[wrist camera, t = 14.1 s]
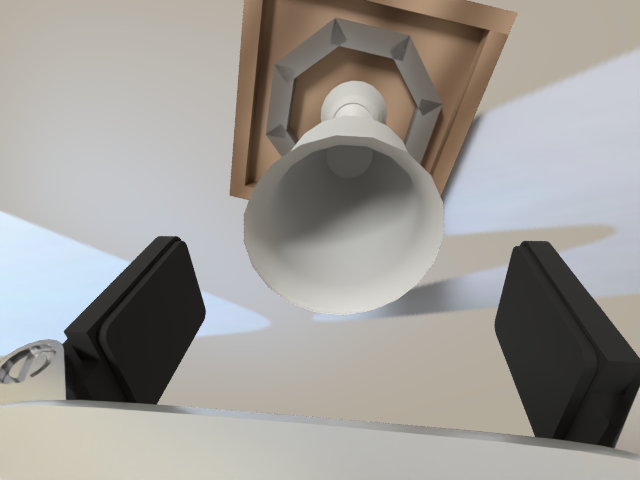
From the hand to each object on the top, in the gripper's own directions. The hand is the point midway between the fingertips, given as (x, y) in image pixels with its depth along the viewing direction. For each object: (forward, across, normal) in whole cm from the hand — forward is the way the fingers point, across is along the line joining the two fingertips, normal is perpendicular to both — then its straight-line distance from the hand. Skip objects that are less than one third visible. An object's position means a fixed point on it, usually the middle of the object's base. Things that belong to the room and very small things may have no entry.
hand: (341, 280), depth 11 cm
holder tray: (+21, +1, 0) cm, 21 cm away
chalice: (+20, +1, 0) cm, 21 cm away
